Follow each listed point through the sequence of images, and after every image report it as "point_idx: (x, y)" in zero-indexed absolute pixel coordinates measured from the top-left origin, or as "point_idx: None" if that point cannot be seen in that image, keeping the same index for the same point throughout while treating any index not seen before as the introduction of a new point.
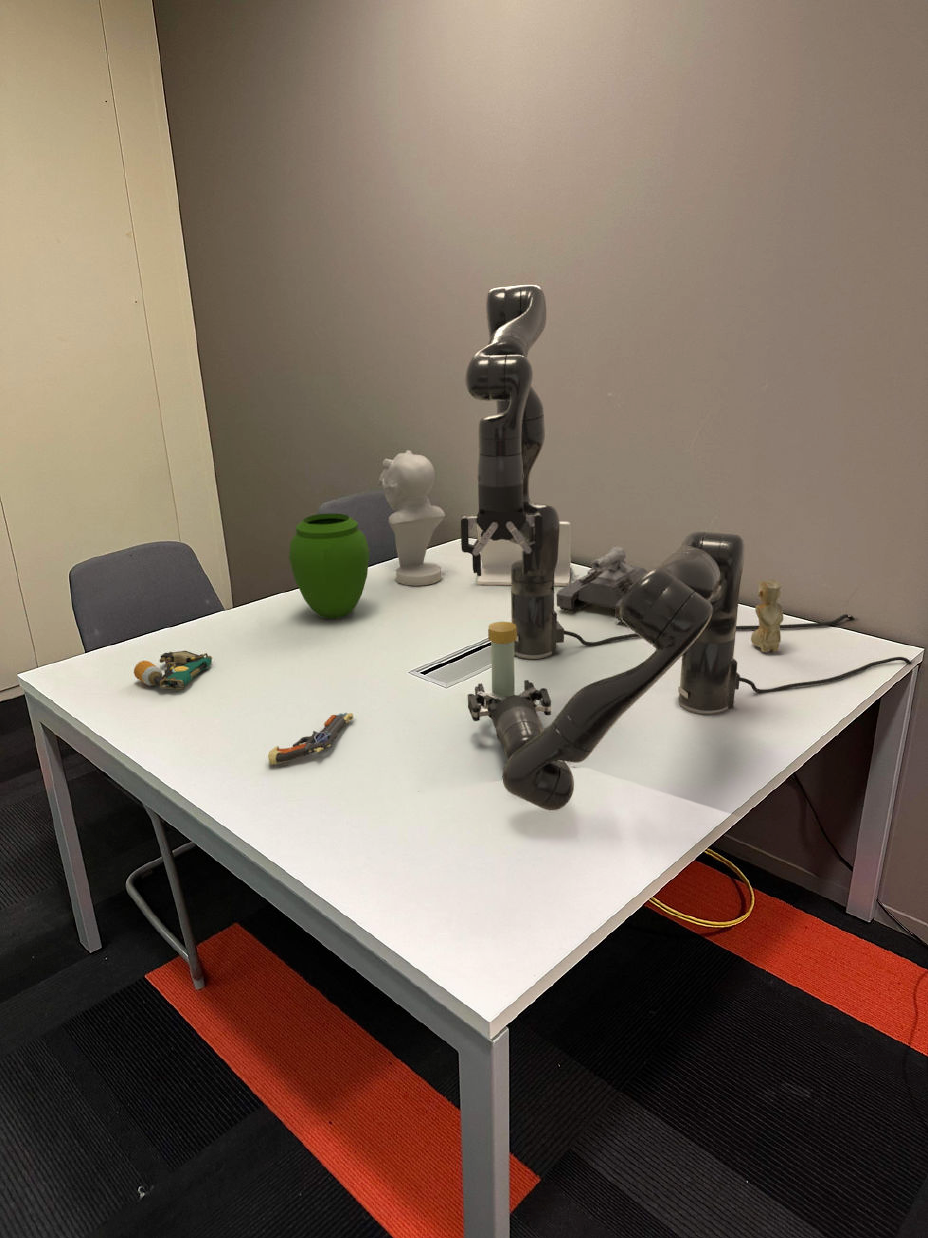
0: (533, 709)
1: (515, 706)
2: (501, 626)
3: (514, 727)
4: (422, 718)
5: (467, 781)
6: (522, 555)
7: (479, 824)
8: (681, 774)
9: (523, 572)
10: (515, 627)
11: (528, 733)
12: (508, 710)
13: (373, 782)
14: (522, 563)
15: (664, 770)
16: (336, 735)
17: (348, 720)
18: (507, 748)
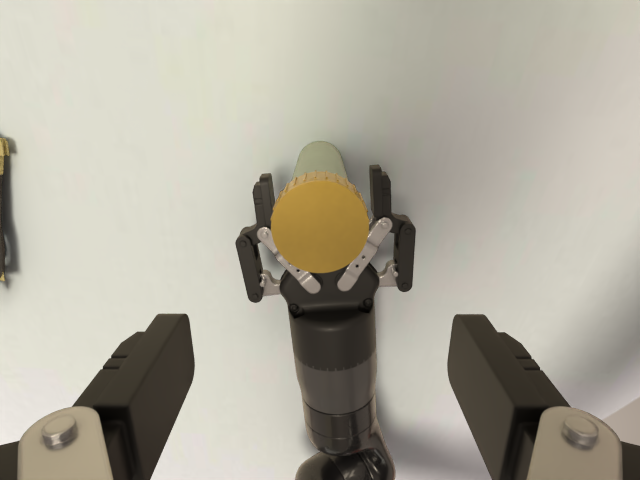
0: (366, 352)
1: (330, 369)
2: (316, 228)
3: (321, 420)
4: (154, 139)
5: (251, 350)
6: (495, 402)
7: (268, 435)
8: (565, 356)
9: (450, 382)
10: (363, 241)
11: (342, 448)
12: (315, 372)
13: (112, 343)
14: (472, 355)
15: (545, 345)
16: (1, 237)
17: (2, 160)
18: (307, 431)
